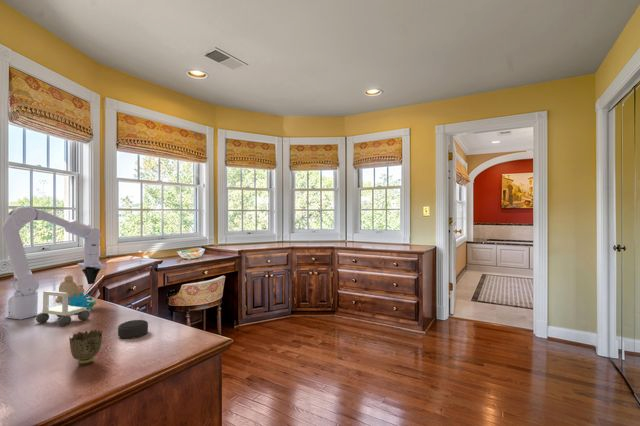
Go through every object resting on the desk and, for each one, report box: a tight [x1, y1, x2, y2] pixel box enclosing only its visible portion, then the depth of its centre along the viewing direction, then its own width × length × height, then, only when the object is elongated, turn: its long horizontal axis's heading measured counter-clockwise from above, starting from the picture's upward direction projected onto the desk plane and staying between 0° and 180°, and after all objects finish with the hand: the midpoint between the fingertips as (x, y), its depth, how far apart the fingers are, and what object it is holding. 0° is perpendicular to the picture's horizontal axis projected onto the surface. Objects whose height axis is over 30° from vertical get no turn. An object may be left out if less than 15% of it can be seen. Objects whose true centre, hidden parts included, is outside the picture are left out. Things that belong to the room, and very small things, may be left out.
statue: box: [55, 274, 87, 303], centre depth 155 cm, size 12×14×10 cm
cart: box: [35, 290, 91, 327], centre depth 124 cm, size 13×11×12 cm
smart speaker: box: [117, 319, 149, 340], centre depth 110 cm, size 9×9×4 cm
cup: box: [68, 329, 104, 366], centre depth 89 cm, size 8×7×8 cm
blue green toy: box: [68, 293, 97, 315], centre depth 137 cm, size 11×6×10 cm
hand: (91, 283), depth 148 cm, fingers closed
